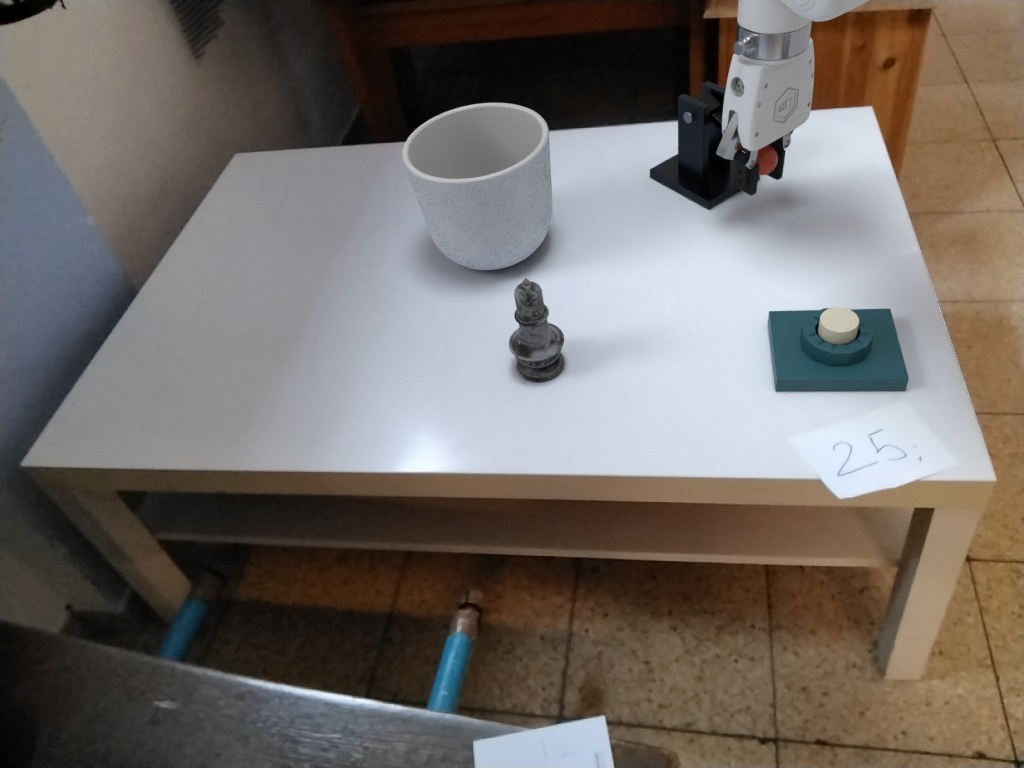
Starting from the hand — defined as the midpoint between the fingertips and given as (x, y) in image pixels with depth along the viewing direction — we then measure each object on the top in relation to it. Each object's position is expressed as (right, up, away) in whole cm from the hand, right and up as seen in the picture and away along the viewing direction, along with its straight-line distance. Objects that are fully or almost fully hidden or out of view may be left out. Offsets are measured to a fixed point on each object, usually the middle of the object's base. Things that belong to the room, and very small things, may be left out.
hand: (757, 181), depth 100 cm
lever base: (-5, +2, +8) cm, 10 cm away
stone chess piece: (-27, -23, -11) cm, 37 cm away
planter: (-32, -7, +5) cm, 33 cm away
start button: (+2, -20, -19) cm, 27 cm away
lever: (-3, +5, +1) cm, 6 cm away
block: (+3, -22, -16) cm, 27 cm away
